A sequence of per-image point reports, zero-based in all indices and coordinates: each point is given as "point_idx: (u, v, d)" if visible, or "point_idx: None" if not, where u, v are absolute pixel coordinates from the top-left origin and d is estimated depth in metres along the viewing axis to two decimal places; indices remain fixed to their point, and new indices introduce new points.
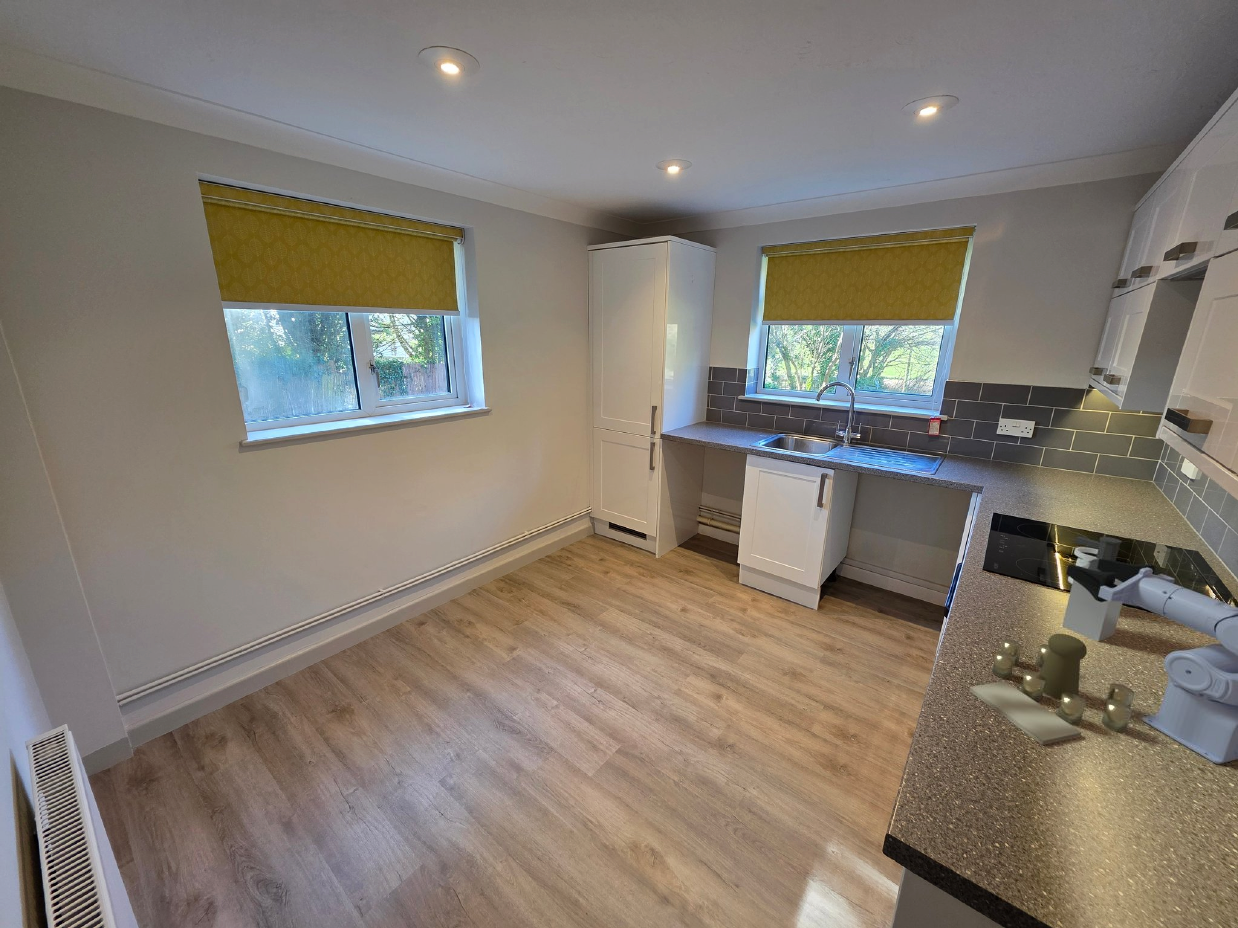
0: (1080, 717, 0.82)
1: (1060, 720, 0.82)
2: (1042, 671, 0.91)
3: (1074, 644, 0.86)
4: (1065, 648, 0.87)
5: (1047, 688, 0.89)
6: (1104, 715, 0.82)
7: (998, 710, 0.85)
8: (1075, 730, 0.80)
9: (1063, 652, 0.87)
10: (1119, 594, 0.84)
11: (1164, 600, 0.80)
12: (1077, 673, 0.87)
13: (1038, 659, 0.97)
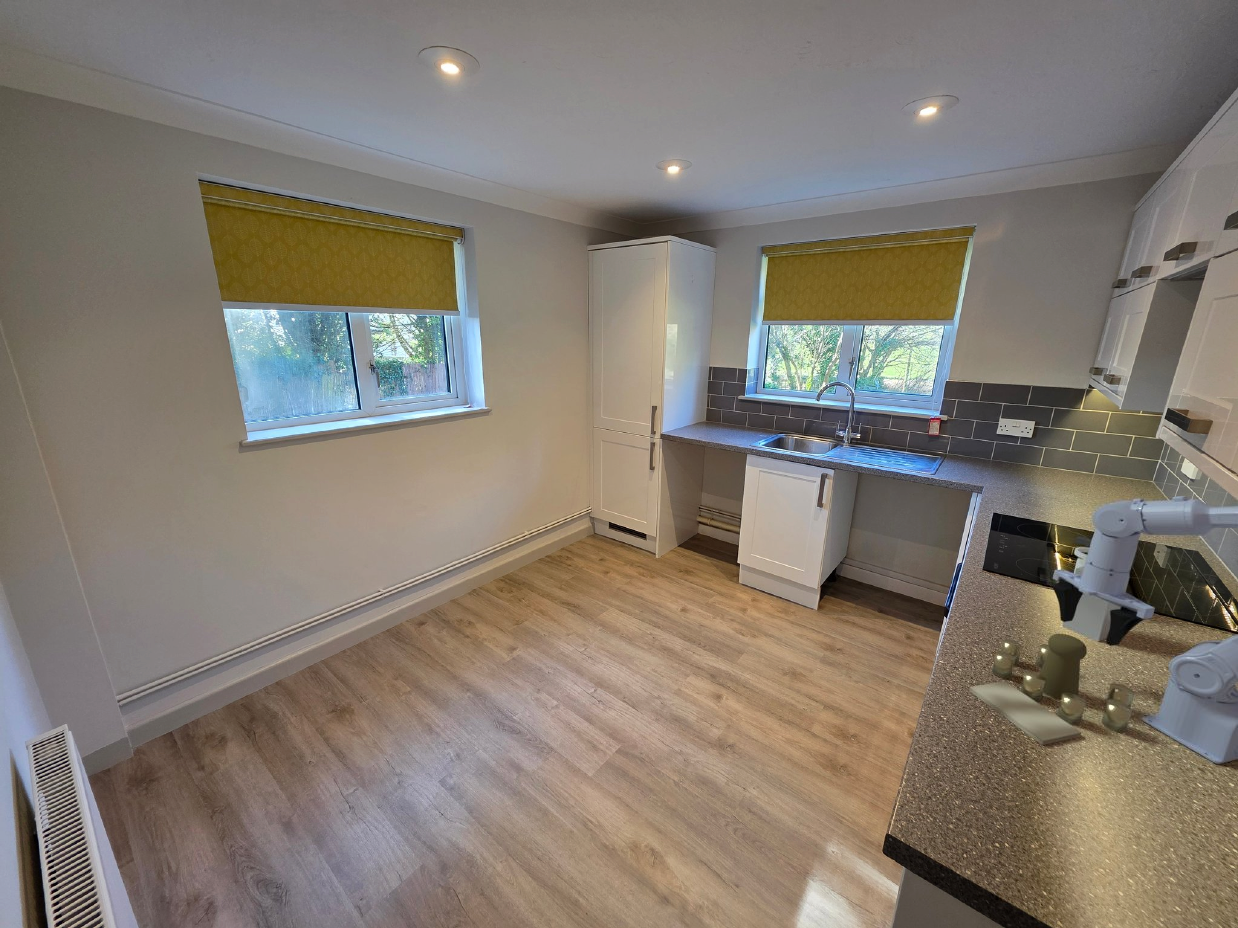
0: (1080, 717, 0.82)
1: (1060, 720, 0.82)
2: (1042, 671, 0.91)
3: (1074, 644, 0.86)
4: (1065, 648, 0.87)
5: (1047, 688, 0.89)
6: (1104, 715, 0.82)
7: (998, 710, 0.85)
8: (1075, 730, 0.80)
9: (1063, 652, 0.87)
10: (1137, 603, 0.84)
11: (1121, 573, 0.85)
12: (1077, 673, 0.87)
13: (1038, 659, 0.97)
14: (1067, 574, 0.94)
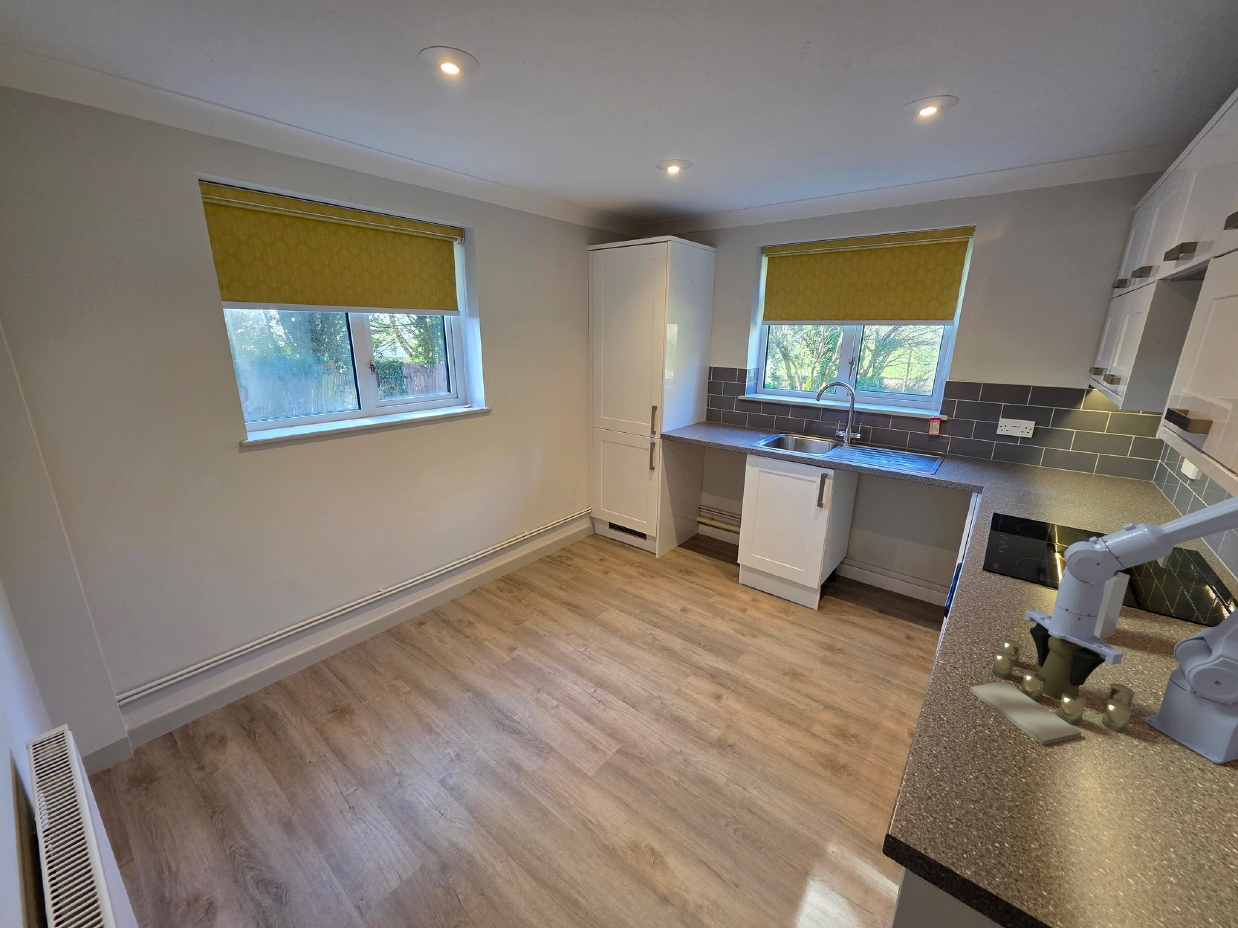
0: (1080, 717, 0.82)
1: (1060, 720, 0.82)
2: (1042, 671, 0.91)
3: (1074, 644, 0.86)
4: (1065, 648, 0.87)
5: (1047, 688, 0.89)
6: (1104, 715, 0.82)
7: (998, 710, 0.85)
8: (1075, 730, 0.80)
9: (1063, 652, 0.87)
10: (1105, 648, 0.82)
11: (1089, 617, 0.84)
12: None
13: None
14: (1038, 615, 0.93)
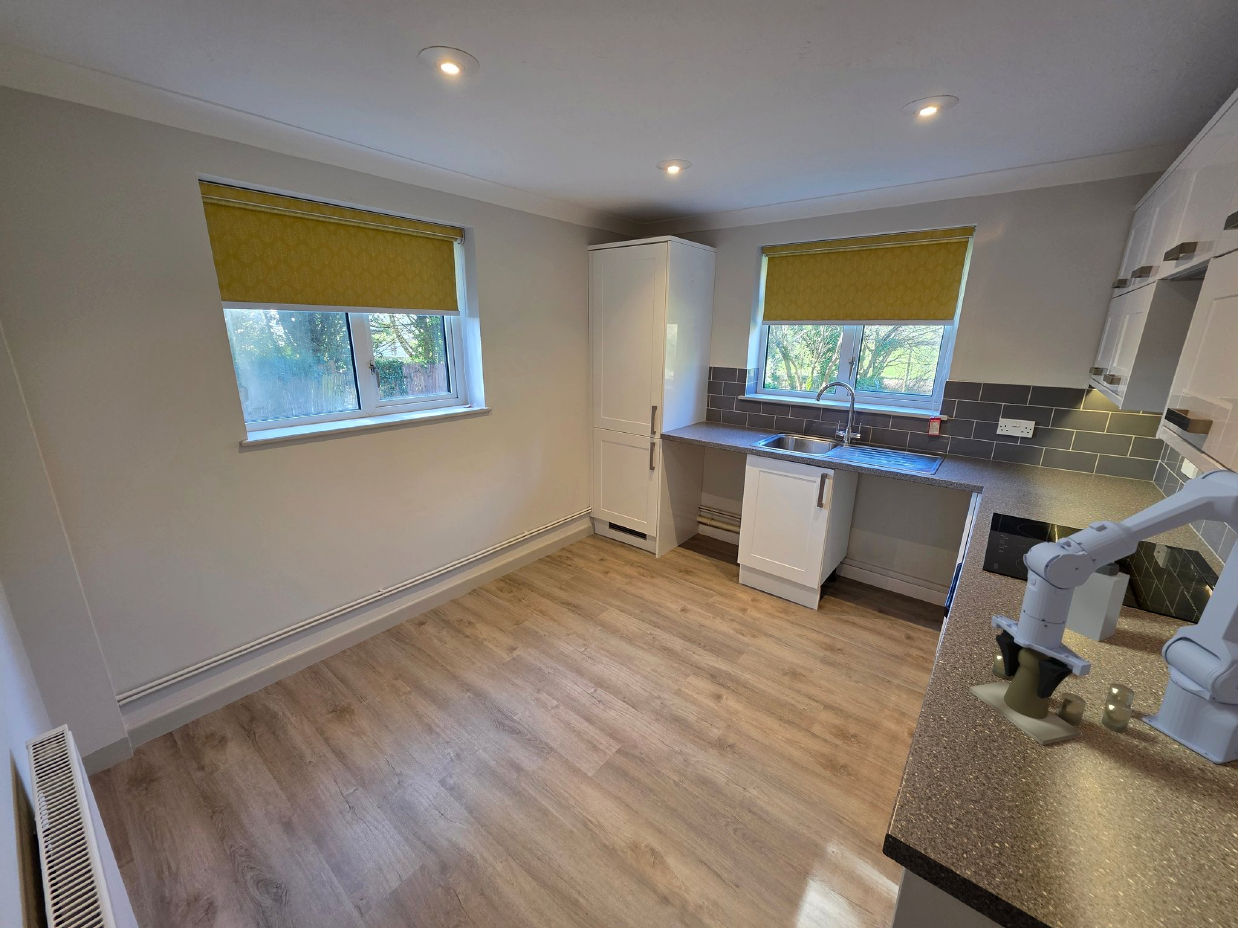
0: (1080, 717, 0.82)
1: (1060, 720, 0.82)
2: (1011, 685, 0.86)
3: (1044, 659, 0.81)
4: (1034, 662, 0.81)
5: (1015, 703, 0.84)
6: (1104, 715, 0.82)
7: (998, 710, 0.85)
8: (1075, 730, 0.80)
9: (1032, 666, 0.81)
10: (1073, 658, 0.77)
11: (1056, 624, 0.78)
12: None
13: None
14: (1005, 621, 0.87)
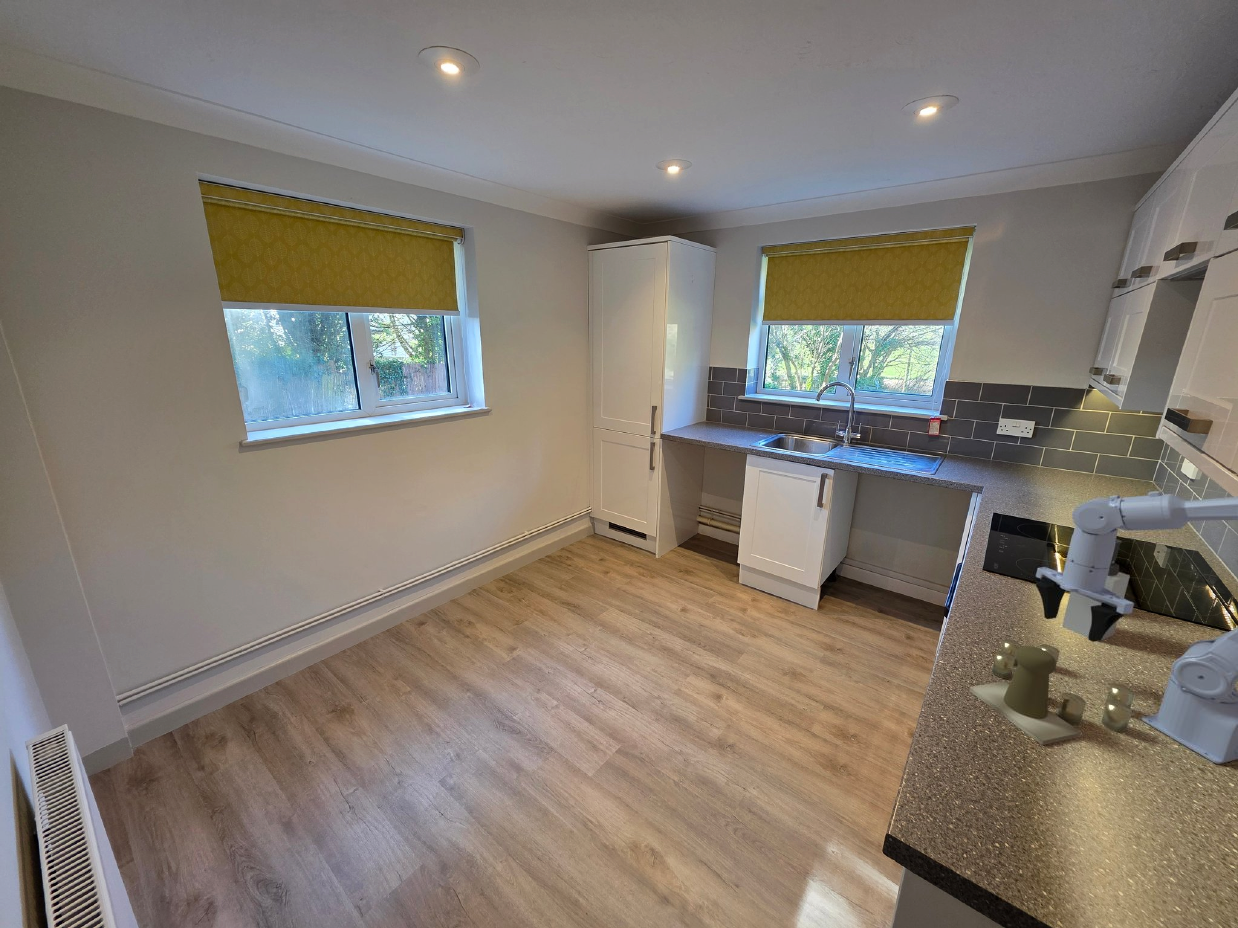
0: (1080, 717, 0.82)
1: (1060, 720, 0.82)
2: (1010, 685, 0.86)
3: (1042, 658, 0.81)
4: (1032, 661, 0.82)
5: (1014, 703, 0.84)
6: (1104, 715, 0.82)
7: (998, 710, 0.85)
8: (1075, 730, 0.80)
9: (1030, 665, 0.82)
10: (1116, 599, 0.85)
11: (1100, 569, 0.86)
12: (1046, 688, 0.82)
13: None
14: (1049, 572, 0.95)
